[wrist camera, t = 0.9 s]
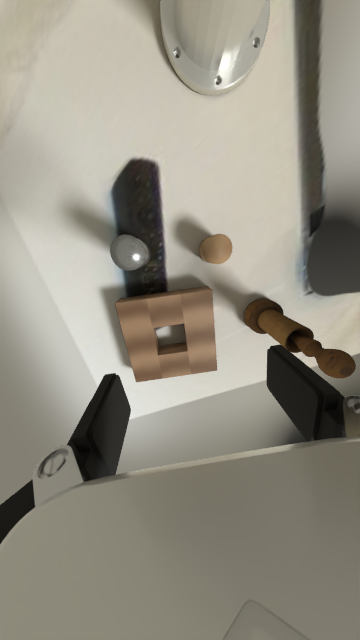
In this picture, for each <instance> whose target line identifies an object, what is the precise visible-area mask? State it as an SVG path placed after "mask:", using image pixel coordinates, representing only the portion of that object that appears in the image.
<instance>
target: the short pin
mask: <svg viewBox="0 0 360 640" xmlns="http://www.w3.org/2000/svg"><path fill="white" fill-rule="evenodd" d="M231 253H232V243H231V241H230V239H229V238H228V237H227V236H225V235H223V234H216V235H213V236H211V237H209V238H206V239H205V240H204V241H203V242H202V243H201V245H200V247H199V254H200V257H201V258H202V259H203V260H204V261H205V262H209V263H214V264H221V263H224V262H225V261H226V260H228V258H229V257H230V255H231Z"/></svg>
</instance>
